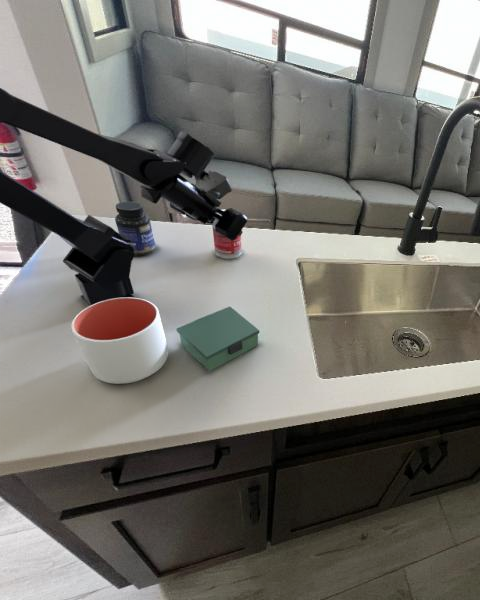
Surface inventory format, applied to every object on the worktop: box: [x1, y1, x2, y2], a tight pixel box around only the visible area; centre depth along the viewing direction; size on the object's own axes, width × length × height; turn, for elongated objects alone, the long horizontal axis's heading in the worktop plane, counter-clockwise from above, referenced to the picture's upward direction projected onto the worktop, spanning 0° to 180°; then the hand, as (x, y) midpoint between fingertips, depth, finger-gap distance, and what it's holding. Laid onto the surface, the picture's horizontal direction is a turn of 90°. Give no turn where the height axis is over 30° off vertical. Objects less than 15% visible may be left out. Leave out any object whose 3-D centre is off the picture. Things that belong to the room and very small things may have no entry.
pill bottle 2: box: [211, 209, 243, 260], centre depth 82 cm, size 6×6×11 cm
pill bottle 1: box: [114, 200, 157, 257], centre depth 74 cm, size 6×6×11 cm
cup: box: [70, 297, 169, 385], centre depth 51 cm, size 10×10×10 cm
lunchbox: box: [175, 305, 260, 372], centre depth 60 cm, size 10×10×4 cm
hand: (231, 228), depth 82 cm, fingers closed on pill bottle 2, 6 cm apart
